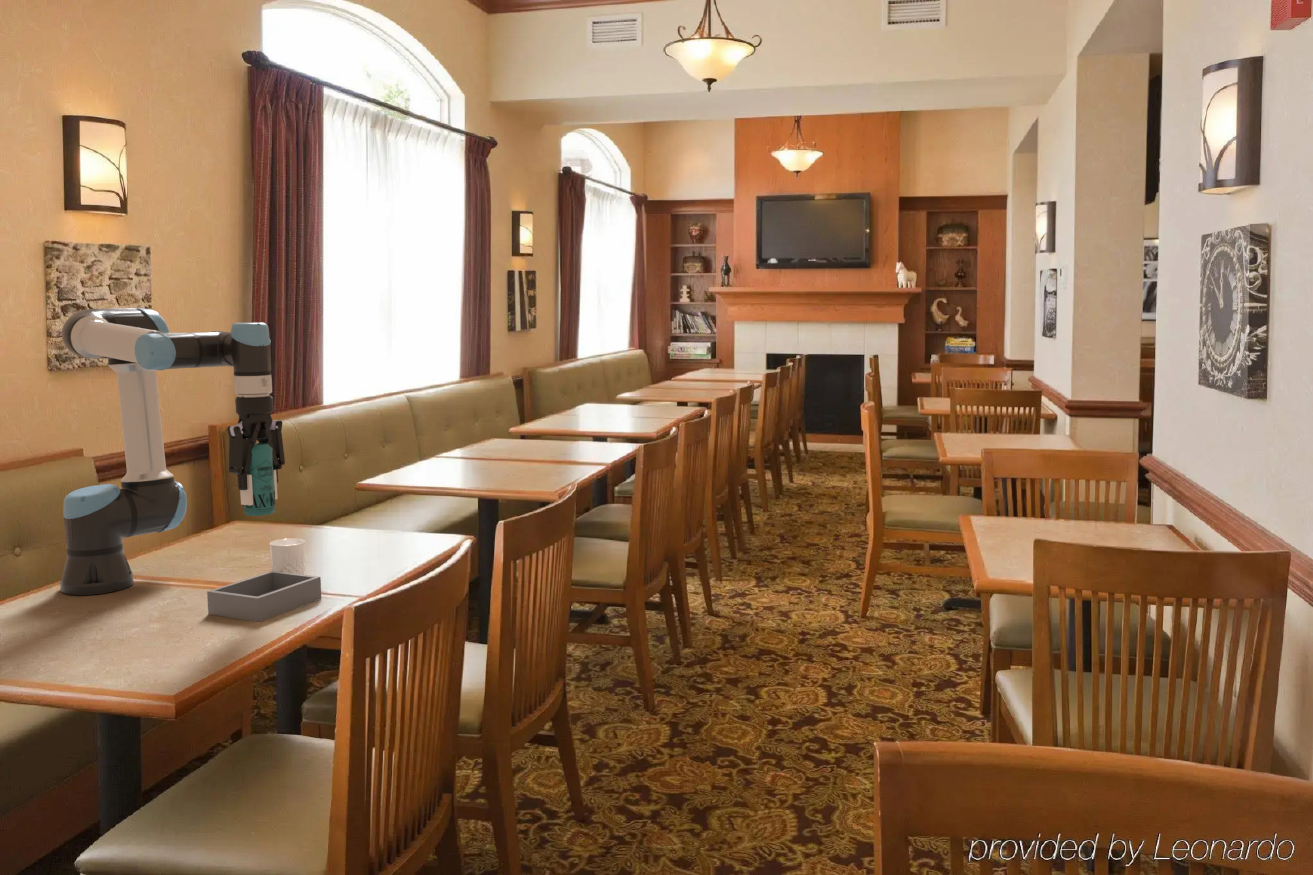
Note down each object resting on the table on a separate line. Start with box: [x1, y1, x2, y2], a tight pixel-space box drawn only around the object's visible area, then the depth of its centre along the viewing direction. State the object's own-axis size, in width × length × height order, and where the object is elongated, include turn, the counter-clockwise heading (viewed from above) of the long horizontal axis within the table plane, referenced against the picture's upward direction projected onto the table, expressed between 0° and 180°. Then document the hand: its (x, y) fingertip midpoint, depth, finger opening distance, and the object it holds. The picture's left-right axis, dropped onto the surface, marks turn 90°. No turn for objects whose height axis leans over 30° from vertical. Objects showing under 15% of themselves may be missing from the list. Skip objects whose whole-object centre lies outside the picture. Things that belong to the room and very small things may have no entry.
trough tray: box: [206, 570, 322, 622], centre depth 232 cm, size 14×19×5 cm
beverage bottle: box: [243, 428, 277, 517], centre depth 228 cm, size 6×7×20 cm
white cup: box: [269, 538, 306, 575], centre depth 251 cm, size 8×8×10 cm
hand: (259, 501), depth 229 cm, fingers closed on beverage bottle, 6 cm apart
